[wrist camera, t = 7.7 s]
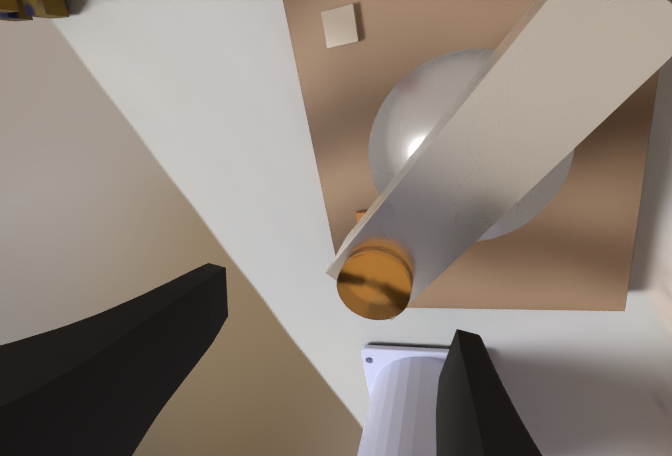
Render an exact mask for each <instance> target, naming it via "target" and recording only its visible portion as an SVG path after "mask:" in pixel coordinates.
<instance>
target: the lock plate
mask: <svg viewBox="0 0 672 456" xmlns="http://www.w3.org/2000/svg"><path fill="white" fill-rule="evenodd" d="M533 1H534V0H283V3H284V8H285V13H286V18H287V23H288V28H289V32H290V37H291V42H292V47H293V52H294V57H295V61H296V66H297V71H298V76H299V81H300V86H301V90H302V95H303V100H304V105H305V110H306V115H307V120H308V124H309V129H310V134H311V139H312V144H313V149H314V153H315V158H316V163H317V168H318V173H319V178H320V182H321V187H322V192H323V197H324V202H325V207H326V212H327V216H328V221H329V226H330V231H331V236H332V241H333V245H334V250H335V255H336V254H337V253H338V251H339V249H340V247H341V246H342V244H343V242H344V240H345V239H346V237H347V236H348V234H349V233H350V232H351V230H352V229H353V228H354V227H355V225H356V224H357V223H358V222H359V220H360V219H361V218H362V217H363V215H364V214H365V213H366V212H367V210H368V209H369V208H370V207H371V205H372V204H373V203H374V202H375V200H376V199H377V198H378V196H379V194H378V192H377V190H376V188H375V185H374V182H373V180H372V176H371V172H370V167H369V157H368V153H369V140H370V133H371V130H372V126H373V123H374V120H375V118H376V115H377V113H378V111H379V109H380V107H381V105H382V104H383V102H384V100H385V99H386V97H387V96H388V95H389V93H390V92H391V91H392V89H393V88H394V87H395V86H396V85H397V84H398V83H399V82H400V81H401V80H402V79H403V78H404V77H405V76H406V75H408V74H409V73H410V72H412V71H413V70H414V69H415V68H417V67H419V66H421V65H422V64H424V63H426V62H427V61H429V60H432V59H434V58H436V57H438V56H441V55H443V54H446V53H450V52H453V51H458V50H465V49H493V50H495V49H496V48H497V47H498V45H499V44H500V43H501V42H502V40H503V39H504V38H505V37H506V35H507V34H508V33H509V32H510V30H511V29H512V28H513V27H514V25H515V24H516V23H517V21H518V20H519V19H520V18H521V16H522V15H523V14H524V13H525V11H526V10H527V9H528V8H529V6H530V5H531V4H532V3H533ZM668 1H669V0H668ZM658 72H659V69H658V70H657V71H656V72H655V73H654V74H653V75H652V76H650V77H649V78H648V79H647V80H646V81H645V82H644V83H643V84H642V85H641V86H640V87H639V88H638V89H637V90H636V91H635V92H634V93H632V94H631V95H630V96H629V97H628V98H627V99H626V100H625V101H624V102H623V103H622V104H621V105H620V106H619V107H618V108H617V109H615V110H614V111H613V112H612V113H611V114H610V115H609V116H608V117H607V118H606V119H605V120H604V121H603V122H602V123H601V124H600V125H599V126H597V127H596V128H595V129H594V130H593V131H592V132H591V133H590V134H589V135H588V136H587V137H586V138H585V139H584V140H583V141H582V142H581V143H579V144H578V145H577V146H576V147H575V148H574V155H573V159H572V163H571V166H570V170H569V172H568V174H567V177H566V179H565V181H564V183H563V185H562V186H561V188H560V190H559V191H558V193H557V194H556V196H555V197H554V198H553V200H552V201H551V202H550V203H549V204H548V205H547V206H546V207H545V208H544V209H543V210H542V211H541V212H540V213H539V214H538V215H537V216H536V217H534V218H533V219H532V220H530V221H529V222H528V223H526V224H524V225H523V226H521V227H519V228H518V229H516V230H514V231H511V232H509V233H507V234H505V235H502V236H499V237H496V238H492V239H488V240H483V241H476V242H474V243H473V244H472V245H471V246H470V247H469V248H468V249H467V250H466V251H465V252H464V253H463V254H462V255H461V256H460V257H459V258H458V259H456V260H455V261H454V262H453V263H452V264H451V265H450V266H449V267H448V268H447V269H446V270H445V271H444V272H443V273H442V274H441V275H439V276H438V277H437V278H436V279H435V280H434V281H433V282H432V283H431V284H430V285H429V286H428V287H427V288H426V289H425V290H424V291H423V292H421V293H420V294H419V295H418V296H417V297H416V298H415V299H414V300H413V301H412V302H411V303H410V304H409V305H408V306H407V307H406V308H464V309H526V310H588V311H625V306H626V299H627V292H628V285H629V278H630V271H631V264H632V257H633V250H634V243H635V236H636V228H637V221H638V214H639V207H640V200H641V193H642V186H643V179H644V172H645V165H646V158H647V150H648V143H649V136H650V129H651V122H652V115H653V108H654V101H655V94H656V87H657V79H658ZM346 307H347V306H346Z"/></svg>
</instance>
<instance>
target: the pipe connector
mask: <svg viewBox="0 0 672 456" xmlns="http://www.w3.org/2000/svg"><path fill="white" fill-rule="evenodd" d="M32 17H42V18H63V17H69V15H68V11H67V7H66V4H65V0H0V20H7V21H26V20H33V18H32Z"/></svg>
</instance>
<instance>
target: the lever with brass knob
mask: <svg viewBox="0 0 672 456" xmlns="http://www.w3.org/2000/svg"><path fill="white" fill-rule="evenodd" d="M671 57H672V3H670V2H669V1H668V0H534V1H533V3H532V4H531V5H530V6H529V8H528V9H527V10H526V11H525V13H524V14H523V15H522V16H521V18H520V19H519V20H518V21H517V23H516V24H515V25H514V27H513V28H512V29H511V30H510V32H509V33H508V34H507V35H506V37H505V38H504V39H503V40H502V42H501V43H500V44H499V45H498V47H497V48H496V49H495V50H493V49H465V50H458V51H453V52H450V53H446V54H443V55H441V56H438V57H436V58H434V59H432V60H429V61H427V62H426V63H424V64H422V65H421V66H419V67H417V68H415V69H414V70H413V71H412V72H410V73H409V74H408V75H406V76H405V77H404V78H403V79H402V80H401V81H400V82H399V83H398V84H397V85H396V86H395V87H394V88H393V89H392V91H391V92H390V93H389V95H388V96H387V97H386V99H385V100H384V102H383V104H382V105H381V107H380V109H379V111H378V113H377V115H376V118H375V120H374V123H373V126H372V130H371V133H370V140H369V153H368V157H369V167H370V172H371V176H372V180H373V182H374V185H375V188H376V190H377V192H378V194H379V196H378V198H377V199H376V200H375V202H374V203H373V204H372V205H371V207H370V208H369V209H368V210H367V212H366V213H365V214H364V215H363V217H362V218H361V219H360V220H359V222H358V223H357V224H356V225H355V227H354V228H353V229H352V230H351V232H350V233H349V234H348V236H347V237H346V239H345V240H344V242H343V244H342V246H341V247H340V249H339V251H338V253H337V254H336V256H335V258H334V260H333V261H332V263H331V265H330V267H329V268H328V270H327V272H326V273H327V274H328V275H330V276H331V277H333V278H334V279H335V280H337V290H338V293H339V296H340V298H341V300H342V301H343V302H344V304H345V305H346V306H347V307H348V308H349V309H350V310H351V311H353V312H354V313H356V314H358V315H360V316H362V317H365V318H368V319H373V320H385V319H390V320H393V319H394V318H395V317H396V316H397V315H399V314H400V313H401V312H403V311H404V309H405V308H406V307H407V306H408V305H409V304H410V303H411V302H412V301H413V300H414V299H415V298H416V297H417V296H418V295H419V294H420V293H421V292H423V291H424V290H425V289H426V288H427V287H428V286H429V285H430V284H431V283H432V282H433V281H434V280H435V279H436V278H437V277H438V276H439V275H441V274H442V273H443V272H444V271H445V270H446V269H447V268H448V267H449V266H450V265H451V264H452V263H453V262H454V261H455V260H456V259H458V258H459V257H460V256H461V255H462V254H463V253H464V252H465V251H466V250H467V249H468V248H469V247H470V246H471V245H472V244H473V243H474V242H476V241H483V240H488V239H492V238H496V237H499V236H502V235H505V234H507V233H509V232H511V231H514V230H516V229H518V228H519V227H521V226H523V225H524V224H526V223H528V222H529V221H530V220H532V219H533V218H534V217H536V216H537V215H538V214H539V213H540V212H541V211H542V210H543V209H544V208H545V207H546V206H547V205H548V204H549V203H550V202H551V201H552V200H553V198H554V197H555V196H556V194H557V193H558V191H559V190H560V188H561V186H562V185H563V183H564V181H565V179H566V177H567V174H568V172H569V170H570V166H571V163H572V159H573V155H574V148H575V147H576V146H577V145H578V144H579V143H581V142H582V141H583V140H584V139H585V138H586V137H587V136H588V135H589V134H590V133H591V132H592V131H593V130H594V129H595V128H596V127H597V126H599V125H600V124H601V123H602V122H603V121H604V120H605V119H606V118H607V117H608V116H609V115H610V114H611V113H612V112H613V111H614V110H615V109H617V108H618V107H619V106H620V105H621V104H622V103H623V102H624V101H625V100H626V99H627V98H628V97H629V96H630V95H631V94H632V93H634V92H635V91H636V90H637V89H638V88H639V87H640V86H641V85H642V84H643V83H644V82H645V81H646V80H647V79H648V78H649V77H650V76H652V75H653V74H654V73H655V72H656V71H657V70H658V69H659V68H660V67H661V66H662V65H663V64H664V63H665V62H666V61H667V60H669V59H670V58H671Z"/></svg>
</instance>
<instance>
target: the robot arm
mask: <svg viewBox="0 0 672 456" xmlns="http://www.w3.org/2000/svg"><path fill="white" fill-rule="evenodd" d="M227 317H228V307H227V287H226V268H225V267H221V266H218V265H213V264H210V263H208V264H205V265H203V266H201V267H198V268H197V269H194V270H192V271H190V272H188V273H186V274H184V275H182V276H180V277H178V278H176V279H174V280H172V281H170V282H168V283H166V284H164V285H162V286H160V287H158V288H155V289H153V290H151V291H149V292H148V293H145V294H143V295H141V296H138V297H136V298H134V299H132V300H129V301H127V302H125V303H123V304H120V305H118V306H116V307H113V308H111V309H109V310H107V311H104V312H102V313H99V314H97V315H94V316H92V317H89V318H86V319H84V320H81V321H78V322H75V323H72V324H70V325H67V326H64V327H61V328H58V329H55V330H51V331H48V332H45V333H42V334H38V335H35V336H32V337H28V338H25V339H22V340H19V341H15V342H12V343H8V344H4V345H0V456H132V455H133V453H134V451H135V450H136V448H137V447H138V445H139V443H140V442H141V440H142V439H143V437H144V436H145V434H146V432H147V431H148V429H149V427H150V426H151V424H152V423H153V421H154V420H155V418H156V417H157V415H158V414H159V413H160V411H161V410H162V408H163V407H164V406H165V404H166V403H167V401H168V400H169V399H170V398H171V396H172V395H173V394H174V392H175V391H176V390H177V389H178V387H179V386H180V385H181V383H182V382H183V381H184V379H185V378H186V377H187V375H188V374H189V373H190V372H191V370H192V369H193V368H194V367H195V365H196V364H197V363H198V361H199V360H200V359H201V357H202V356H203V355H204V353H205V352H206V351H207V349H208V348H209V347H210V345H211V344H212V343H213V341H214V339H215V338H216V336H217V334H218V333H219V331H220V329H221V327H222V325H223V324H224V322H225V320H226V319H227ZM361 355H362V360H363V365H364V370H365V375H366V380H367V385H368V391H369V396H370V404H369V408H368V412H367V416H366V421H365V425H364V429H363V433H362V438H361V442H360V446H359V451H358V455H357V456H542V455H541V453H540V451H539V450H538V448H537V446H536V445H535V443H534V441H533V440H532V438H531V436H530V434H529V433H528V431H527V429H526V428H525V426H524V424H523V422H522V420H521V419H520V417H519V415H518V413H517V411H516V409H515V408H514V406H513V404H512V402H511V400H510V398H509V396H508V394H507V392H506V390H505V388H504V386H503V384H502V382H501V380H500V378H499V376H498V374H497V372H496V370H495V368H494V366H493V363H492V361H491V359H490V357H489V355H488V352H487V350H486V348H485V345H484V343H483V341H482V339H481V337H480V336H479V335H477V334H473V333H470V332H466V331H462V330H458V329H457V330H456V333H455V336H454V338H453V341H452V344H451V346H450V349H439V348H419V347H399V346H379V345H365V346H363V348H362V350H361ZM368 357H370V358H372V359H369V358H368Z"/></svg>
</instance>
